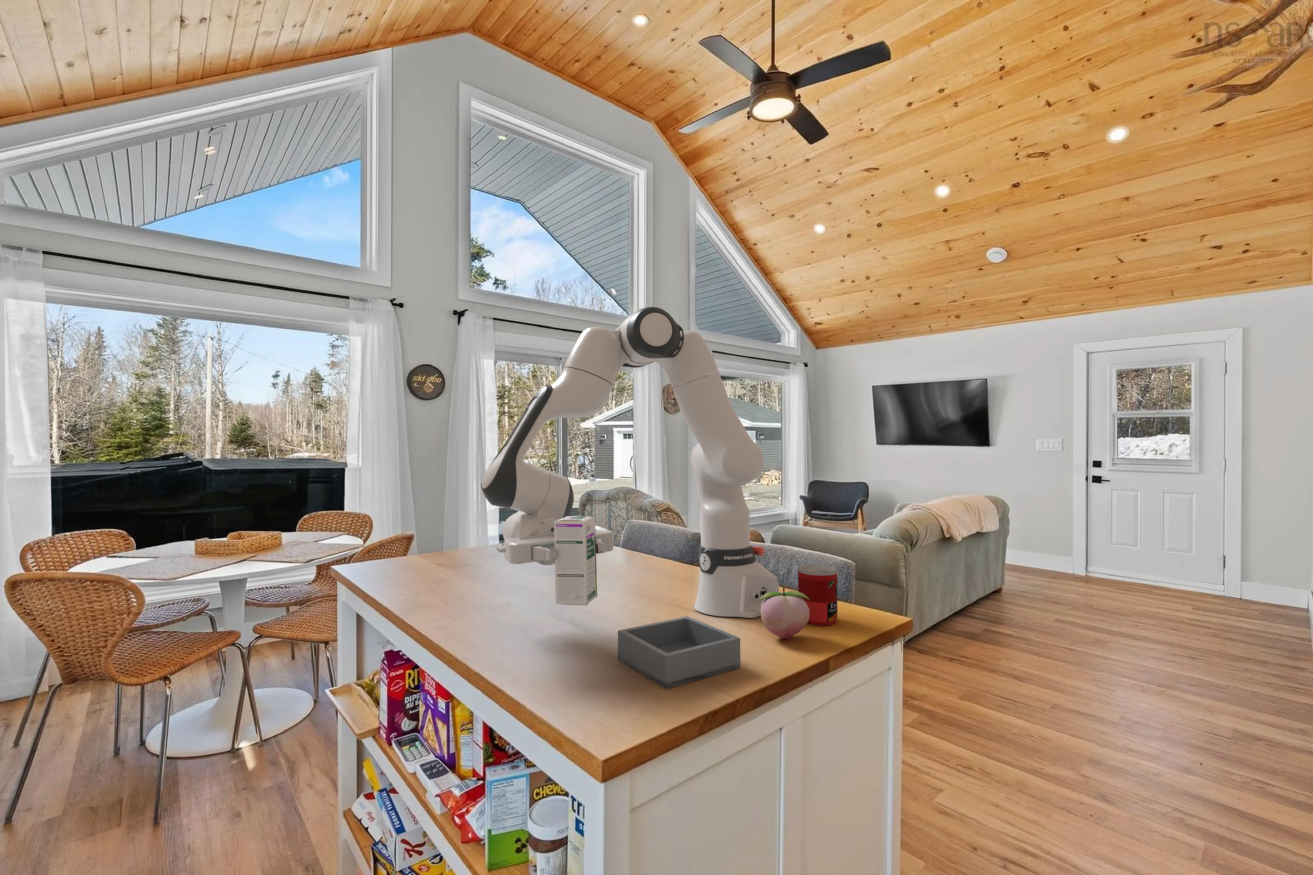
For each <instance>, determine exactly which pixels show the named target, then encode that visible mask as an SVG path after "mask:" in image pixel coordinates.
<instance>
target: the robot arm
mask: <svg viewBox="0 0 1313 875" xmlns="http://www.w3.org/2000/svg"><path fill="white" fill-rule="evenodd" d="M655 362H656V363H657V364H659V365H660V366H661V367H662V368H663V369H664V371H665V373H666V375H667V376H668V380H669V382H670V386H671V389H672V392H673V394H674V397H675V399H676V402H677V403H676V404H677V406H678V408H679V410H680V413H681V416H682V419H683V421H684V423H685V424H686V425H687V426H688V428H689V429H690V430H691V432H692V434H693V435H694V437H695V439H696V441H697V442H698V443H697V444H696V445H695V446H693V448H692V450H691V453H690V456H689V457H690V465H691V468H692V470H693V474H694V480H695V487H696V492H697V497H698V503H699V510H700V545H699V548H698V562H699V569H700V571H699V572H700V573H699V580H698V588H697V594H696V599H695V602H694V606H693V607H694V609H695V610H696V611H698V612H700V613H702V614H705V615H710V616H716V617H727V618H729V617H731V618H732V617H733V618H735V617H737V618H744V619H745V618H746V619H755V618H757V617H761V604H762V602H763V600H764V599H763V600H760V598H761V597H762V596H763V595H765V594H766V593H769V592H780V586H779V585H780V584H779V582H778V579H777V577H776V576H775V575H774V574H773V573H772V572H770V571H769V570H767V568H765V567H764V566H763V565H762V564H761V563H759V562H758V561H757V557H756V556H759V557H762V556H764V555H765V548H764V547H763V546H758V545H756V546H753V545H751V527H750V526H751V524H750V522H751V521H750V520H751V518H750V517H751V516H750V509H749V506H748V505H747V502H746V498H745V497H744V493H743V487H742V486H743V485H746V484H747V485H748V483H751V482H753V481H755V480H756V479H757V478H758V477H759V476H760V475H761V473H762V471H763V467H764V455H763V452H762V450H761V447H760V446H759V445H758V444H756V443H755V441H754V440H753V439H752V438H751V437H750V435H749V433H748V432H747V429H746V428H745V426H744V424H743V423H742V421H741V420H740V418H739V416H738V414H737V412H736V411H735V409H734V407H733V405H732V403H731V401H730V398H729V395H728V392H727V390H726V388H725V385H724V382H723V380H722V377H721V375H720V372H719V369H718V367H717V363H716V361H715V359H714V357H713V355H712V353H711V350H710V348H709V347H708V344H707V343H706V341H705V339H704V338H703V336H702V335H701V334H700V333H698V332H697V331H695V330H688V329H687V330H684V328H682V326H681V325H679V324H678V322H676V320H675V319H674V317H673V316H672V315H671V314H670V313H669V312H668V311H667V310H664V309H663V308H660V307H657V306H648V307H642V308H640V309H638V310H637V311H635V312H634V313H632V314H630V315H629V316H628V317H626V318H625V319H624V320H623V321H622V323H621V324H620V325H618V327H617V328H616V329H614V330H613V329H611V330H610V329H608V328H606V327H602V326H590V327H587V328H585V329H584V330H583V331H582V332H581V333H580V335H579V336H578V338H577V340H576V341H575V343H574V345H573V347H572V348H571V351H570V352H569V355H568V356H567V359H566V362H565V364H564V366H563V369H562V370H561V373H560V375H559V376H558V378H556V380H555V381H554V382H553V383H552V384H550V385H544V386H542V387H541V388H539V390H538V391H537V392H536V393H534V395H533V397H532V398H531V399H530V401H529V403H528V404H527V406H526V407H525V408H524V410H523V412H522V414H521V416H520V417H519V419H518V420H517V422H516V424H514V425H515V426H514V427H513V429H512V431H511V432H510V434H509V435H508V437H507V439H506V440H505V442H504V444H503V446H502V447H501V449H500V450H499V452H498V453H497V454H496V455H495V457H494V458H493V460H492V462H491V463H490V464H489V466H488V467H487V469H486V470H485V472H484V474H483V476H482V480H481V485H480V486H481V487H480V488H481V490H482V493H483V495H484V497H485V499H486V500H487V502H488V503H489V504H490V505H491V506H495V507H499V508H504V509H511V510H515V511H517V512H515V513H513V514H512V515H510V516H509V517H508V518H506V520H505V521H504V523H503V524H502V525H503V526H502V537H503V539H504V543H502V544H501V545H497V546H496V548H495V549H496V551H497V552H499V553H503V554H504V559H505V560H506V562H508V563H509V564H512V565H521V564H529V563H537V564H539V565H543V566H552V565H555V560H556V559H557V556H556V554H557V551H556V549H555V540H554V521H556V520H559V519H562V518H565V517H566V516H571V513H572V511H573V505H574V501H575V495H574V490H573V486H572V484H571V481H570V479H569V478H568V477H567V476H565V475H562V474H560V473H557V472H555V471H551V470H549V469H544V468H542V467H539V466H536V465H532V464H530V463H527V462H525V461H524V460H525V456H526V454H527V452H528V451H529V450H530V448H531V446H532V444H533V442H534V441H535V439H536V437H537V435H538V434H539V432H540V430H541V429H542V427H543V426H544V425H546V423H548V422H549V421H551V420H555V419H563V418H564V419H575V418H576V419H580V418H581V419H582V418H587V417H592V416H594V415H596V414H597V413H599V412H600V411H602V409H603V408H605V406H606V404H607V402H608V400H609V398H610V396H611V392H612V390H613V386H614V385H615V381H616V378H617V375H618V373H619V371H620V369H621V368H623V367H624V368H625V367H626V368H632V369H633V368H634V369H636V368H641V367H645V366H648V365H652V364H653V363H655ZM595 531H596V555H598V554H605V553H606V552H607V553H608V552H612V550H614V545H615V544H614V543H615V541H614V540H615V539H614V538H615V537H614V532H613V531H612V530H611V529H608V528H605V527H603V526H599V525H595ZM759 600H760V601H759Z"/></svg>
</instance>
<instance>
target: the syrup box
mask: <svg viewBox="0 0 1313 875" xmlns="http://www.w3.org/2000/svg"><path fill="white" fill-rule="evenodd" d="M595 526H596V517H595V516H591V515H569V516H566V517H565V518H562V519H559V520H556V521H554V540H555V549H556V551H557V554H556V556H557V559H556V560H555V564H554V575H555V576H554V578H555V581H554V583H555V584H554V585H555V586H554V587H555V603H556V604H557V605H563V606H564V605H566V606H585V607H586V606H588V605H589V604H590V603H591V602H592V601H594V599H596V598H597V597H598V586H597V585H598V582H597V581H598V580H597V576H598V574H597V553H596V531H595Z"/></svg>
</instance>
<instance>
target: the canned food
mask: <svg viewBox="0 0 1313 875" xmlns="http://www.w3.org/2000/svg"><path fill="white" fill-rule="evenodd" d="M797 591H798V592H801V593H803V594H804V595H806V596H807V597H808V598H809V599H806V598H803V597H802V598H803V599H804V601H805V602H806V604H807V606H808V609H809V620H808V623H807V624H806V625H811V626H814V627H815V626H816V627H817V626H818V627H827V626H833V625H835V624H837V621H838V569H837V568H835V567H834V566H829V565H823V564H805V565H803V564H802V565H800V566H798V568H797Z"/></svg>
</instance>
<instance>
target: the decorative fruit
mask: <svg viewBox="0 0 1313 875" xmlns="http://www.w3.org/2000/svg"><path fill="white" fill-rule="evenodd" d="M785 588H786V587H785V586H782V591H779V592H769V593H766V594H765V595H763V596H762V597H761V598H760V600H763V599H764V600H763V602H762V604H761V616H760V618H761V621H762V624H763V625H764V627H765V628H766V630H768V631H769V632H770V633H771V634H773V635H775V636H776V637H779V638H781V639H783V640H787V639H790V638H792V637H794V636H795V635H797V634H798V633H800V632H801V631H802V630H804V628H805V627H806V626H807V625H808V624H807V623H808V620H809V609H808V606H807V604H806V602H805V601H804V599H803V598H806V599H809V598H808V597H807V596H806V595H804V594H803V593H801V592H798V590H789V591H786V590H785ZM802 597H803V598H802ZM760 600H759V601H760Z"/></svg>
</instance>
